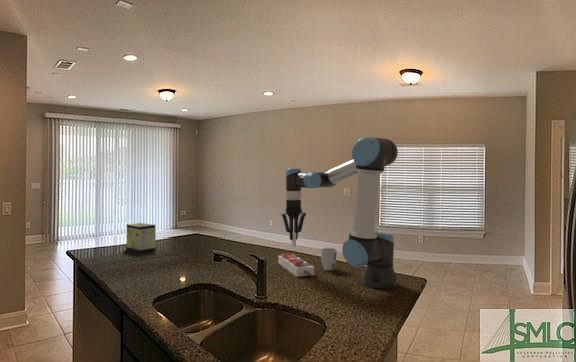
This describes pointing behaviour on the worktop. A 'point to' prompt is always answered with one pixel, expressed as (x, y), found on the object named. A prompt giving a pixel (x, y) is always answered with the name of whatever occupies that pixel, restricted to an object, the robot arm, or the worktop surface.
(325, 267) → the cup
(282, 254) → the block
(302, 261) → the rocker
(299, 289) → the worktop surface
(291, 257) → the plate
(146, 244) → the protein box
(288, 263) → the power strip
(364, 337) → the worktop surface
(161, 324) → the worktop surface
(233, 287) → the worktop surface
